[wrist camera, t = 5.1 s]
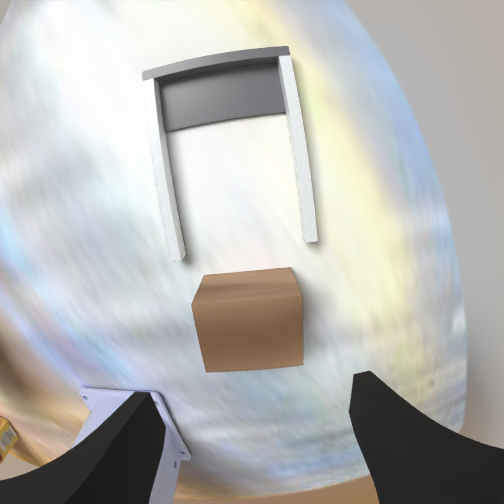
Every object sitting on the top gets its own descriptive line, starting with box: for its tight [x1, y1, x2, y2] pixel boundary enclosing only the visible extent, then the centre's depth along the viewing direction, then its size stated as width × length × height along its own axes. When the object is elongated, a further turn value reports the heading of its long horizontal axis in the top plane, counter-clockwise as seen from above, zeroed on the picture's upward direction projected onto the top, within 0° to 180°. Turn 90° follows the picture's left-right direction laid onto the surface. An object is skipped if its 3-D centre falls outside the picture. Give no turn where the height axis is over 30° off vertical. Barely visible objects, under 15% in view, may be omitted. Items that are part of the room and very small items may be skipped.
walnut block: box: [191, 267, 303, 372], centre depth 15 cm, size 4×5×4 cm
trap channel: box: [142, 46, 318, 262], centre depth 14 cm, size 11×8×1 cm
